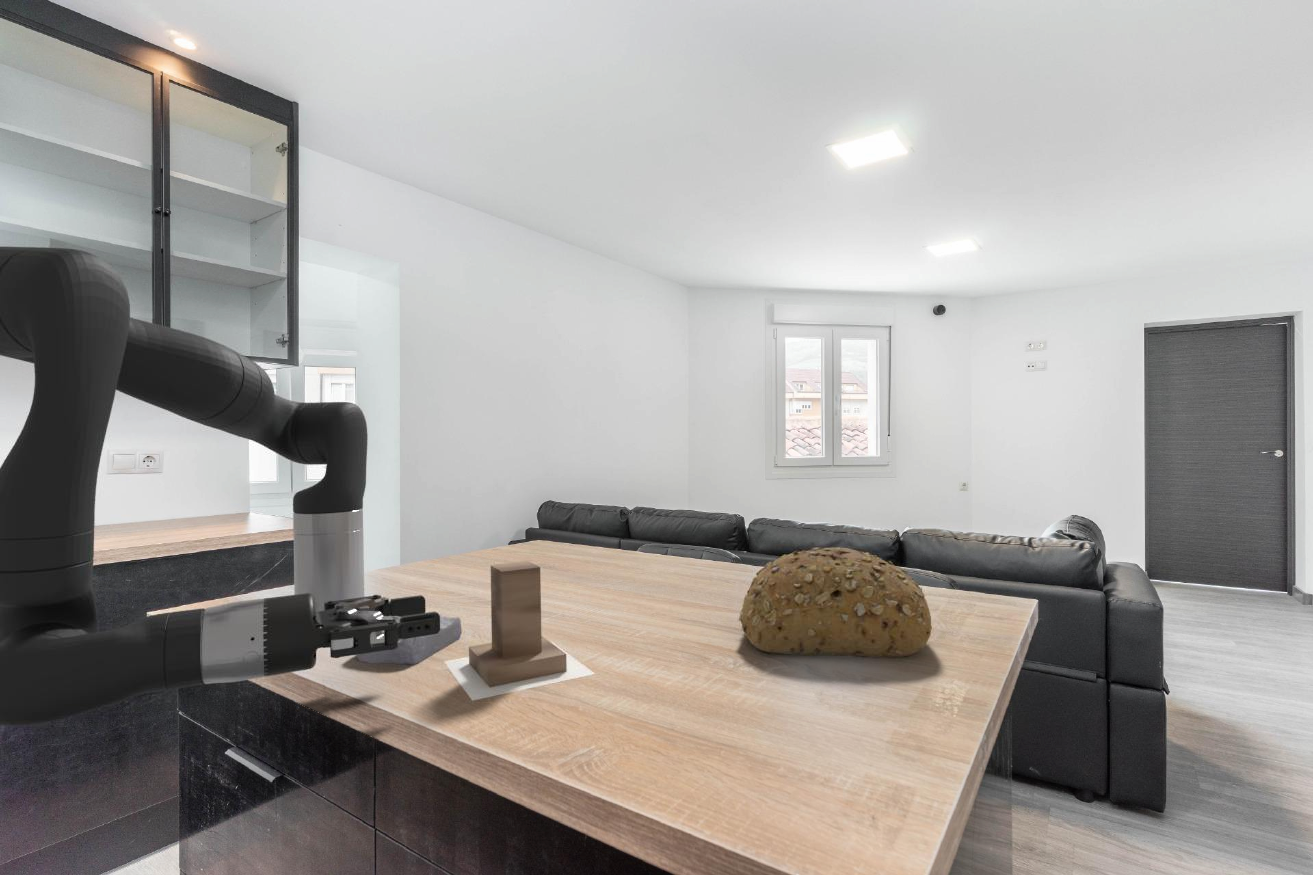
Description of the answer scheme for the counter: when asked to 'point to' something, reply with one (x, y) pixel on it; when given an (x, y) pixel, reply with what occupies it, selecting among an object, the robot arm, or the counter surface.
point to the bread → (835, 606)
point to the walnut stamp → (516, 629)
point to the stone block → (418, 645)
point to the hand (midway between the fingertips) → (431, 612)
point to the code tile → (481, 690)
